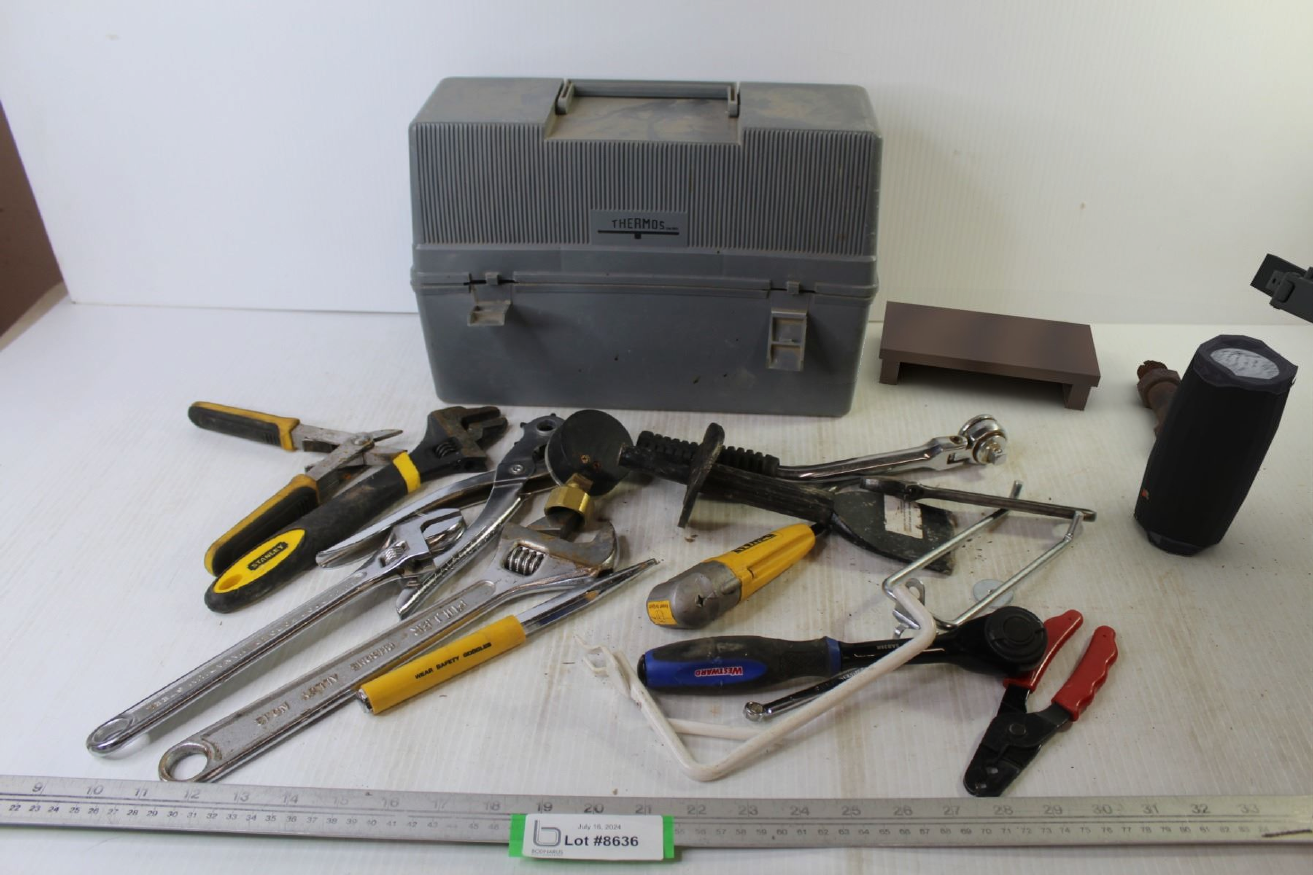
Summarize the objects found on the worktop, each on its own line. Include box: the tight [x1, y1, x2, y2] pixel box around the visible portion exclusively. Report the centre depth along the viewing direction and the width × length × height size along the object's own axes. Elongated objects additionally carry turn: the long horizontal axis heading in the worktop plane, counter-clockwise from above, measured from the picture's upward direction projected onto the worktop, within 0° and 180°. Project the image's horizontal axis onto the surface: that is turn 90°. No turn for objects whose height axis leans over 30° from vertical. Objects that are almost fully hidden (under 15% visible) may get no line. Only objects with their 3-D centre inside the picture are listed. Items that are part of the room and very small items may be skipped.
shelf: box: [878, 300, 1102, 411], centre depth 115 cm, size 24×12×5 cm, turn 75°
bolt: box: [1136, 359, 1182, 439], centre depth 107 cm, size 6×5×15 cm
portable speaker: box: [1132, 333, 1299, 557], centre depth 88 cm, size 9×9×20 cm
